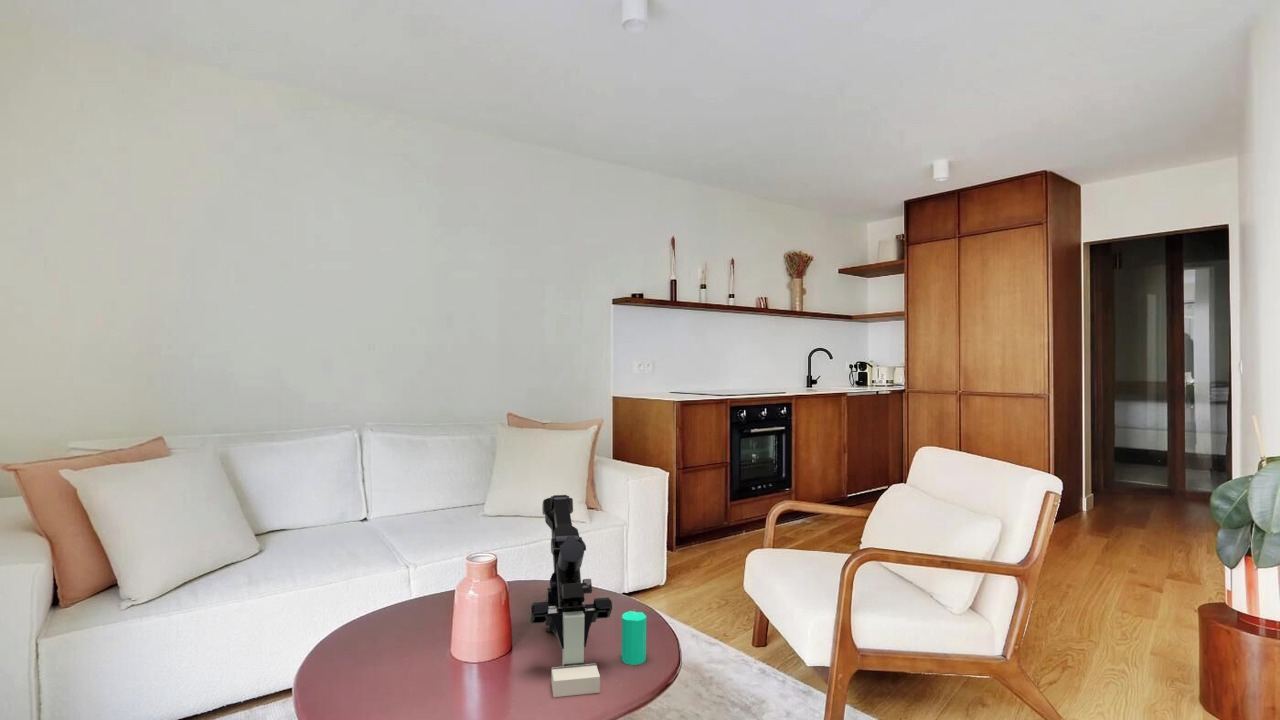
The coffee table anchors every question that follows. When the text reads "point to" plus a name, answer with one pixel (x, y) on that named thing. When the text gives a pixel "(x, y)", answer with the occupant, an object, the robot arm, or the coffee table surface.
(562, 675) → the block
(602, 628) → the coffee table surface
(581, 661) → the pale green upright box
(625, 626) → the candle
